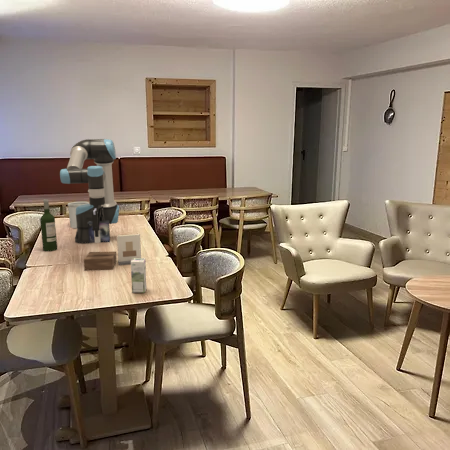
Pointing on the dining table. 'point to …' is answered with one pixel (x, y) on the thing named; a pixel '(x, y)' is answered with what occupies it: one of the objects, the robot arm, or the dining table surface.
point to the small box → (103, 231)
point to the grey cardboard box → (128, 248)
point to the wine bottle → (48, 229)
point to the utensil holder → (74, 212)
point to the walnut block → (100, 261)
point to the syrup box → (138, 275)
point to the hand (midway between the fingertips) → (99, 240)
